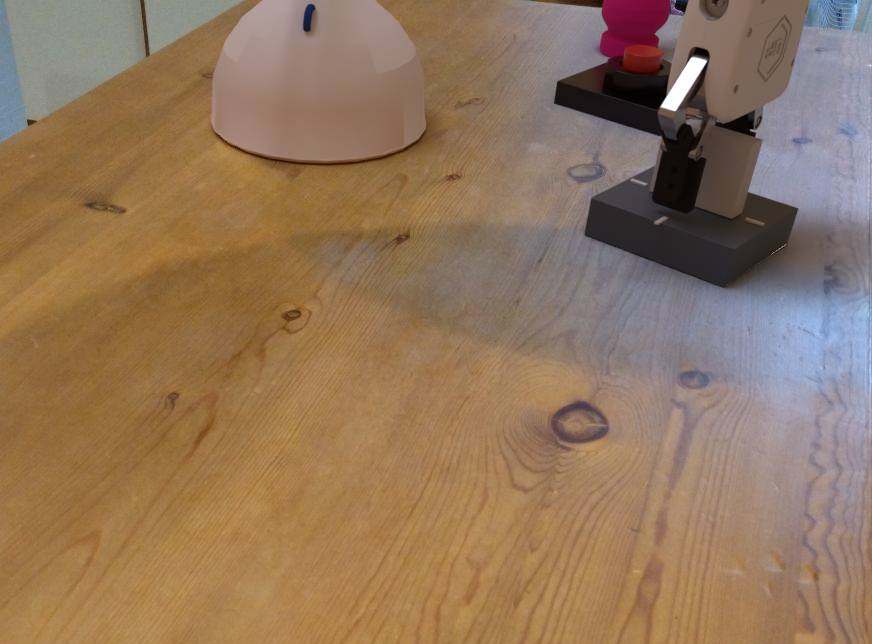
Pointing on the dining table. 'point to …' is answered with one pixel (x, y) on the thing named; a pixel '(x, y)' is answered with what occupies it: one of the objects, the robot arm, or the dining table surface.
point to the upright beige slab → (723, 170)
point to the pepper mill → (632, 24)
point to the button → (642, 58)
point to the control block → (619, 94)
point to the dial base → (689, 230)
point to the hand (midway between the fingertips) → (697, 191)
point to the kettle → (319, 82)
